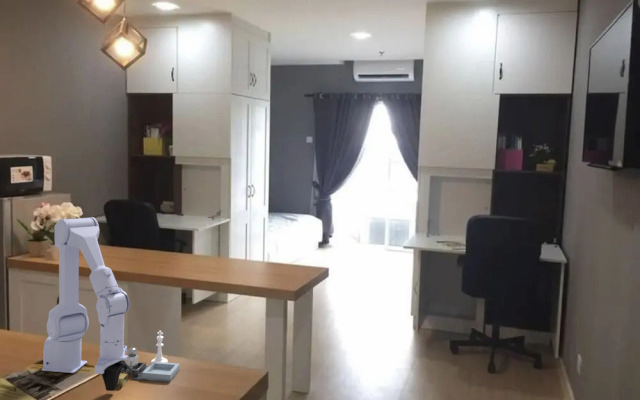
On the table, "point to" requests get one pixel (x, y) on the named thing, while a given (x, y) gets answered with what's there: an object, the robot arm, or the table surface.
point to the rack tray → (161, 371)
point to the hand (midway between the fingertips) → (111, 389)
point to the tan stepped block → (122, 379)
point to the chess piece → (159, 349)
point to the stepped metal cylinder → (131, 361)
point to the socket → (136, 371)
